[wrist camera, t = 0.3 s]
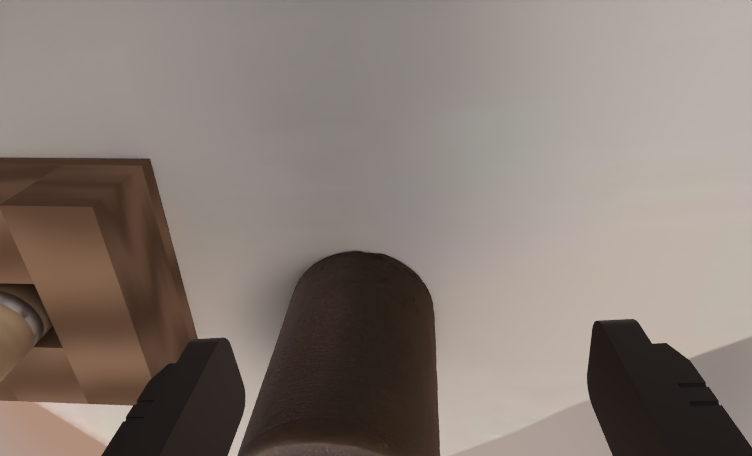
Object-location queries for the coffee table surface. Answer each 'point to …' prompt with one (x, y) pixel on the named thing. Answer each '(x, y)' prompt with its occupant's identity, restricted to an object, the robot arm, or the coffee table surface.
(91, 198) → the socket block
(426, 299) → the pillar candle
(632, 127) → the coffee table surface
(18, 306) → the peg
